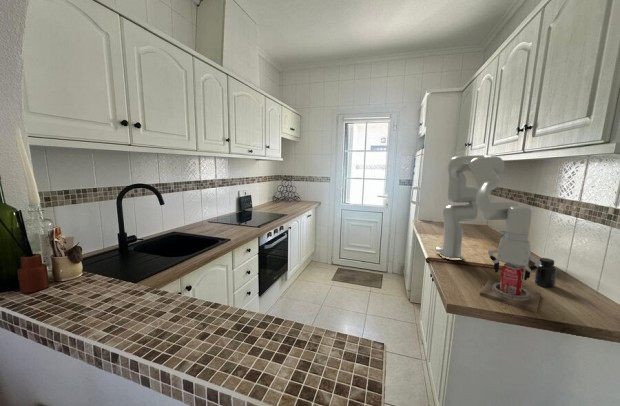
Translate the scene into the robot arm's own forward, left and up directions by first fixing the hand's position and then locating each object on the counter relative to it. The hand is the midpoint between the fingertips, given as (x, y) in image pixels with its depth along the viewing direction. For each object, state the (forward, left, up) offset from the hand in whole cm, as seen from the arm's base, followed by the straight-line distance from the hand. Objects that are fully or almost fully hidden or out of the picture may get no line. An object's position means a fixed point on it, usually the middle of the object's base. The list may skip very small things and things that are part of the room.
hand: (510, 275), depth 104 cm
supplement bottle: (+10, +22, -9) cm, 25 cm away
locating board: (+1, 0, -9) cm, 9 cm away
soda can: (0, 0, -8) cm, 8 cm away
